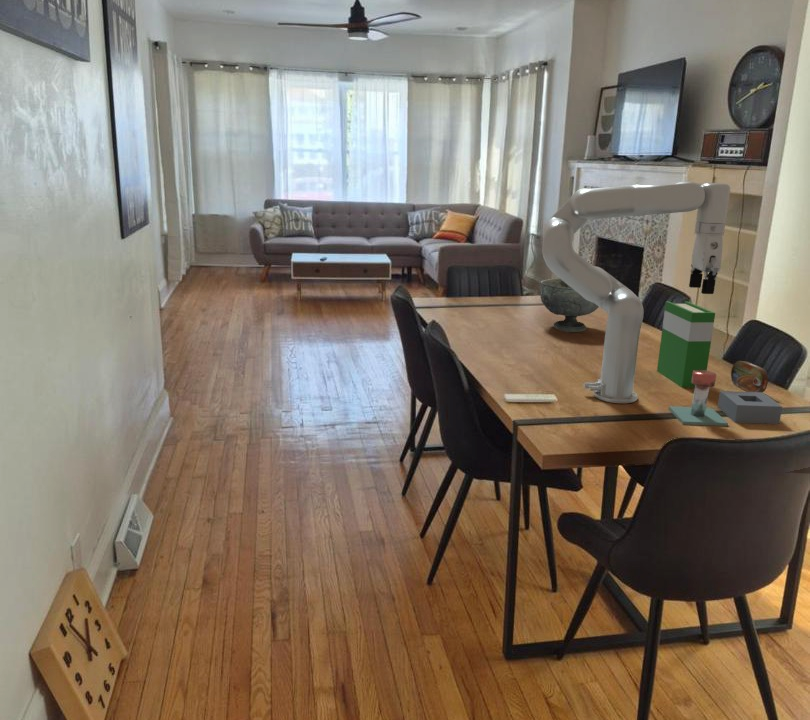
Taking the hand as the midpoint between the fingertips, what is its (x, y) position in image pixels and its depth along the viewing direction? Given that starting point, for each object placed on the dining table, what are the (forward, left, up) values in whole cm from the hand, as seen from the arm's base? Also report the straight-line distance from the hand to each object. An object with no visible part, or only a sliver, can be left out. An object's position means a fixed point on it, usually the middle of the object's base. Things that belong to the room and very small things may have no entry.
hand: (700, 290), depth 198 cm
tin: (+24, +14, -34) cm, 44 cm away
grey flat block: (+14, -10, -33) cm, 37 cm away
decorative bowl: (-18, +90, -34) cm, 98 cm away
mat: (-1, -13, -33) cm, 36 cm away
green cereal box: (+6, +23, -34) cm, 41 cm away
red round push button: (-1, -13, -32) cm, 35 cm away
